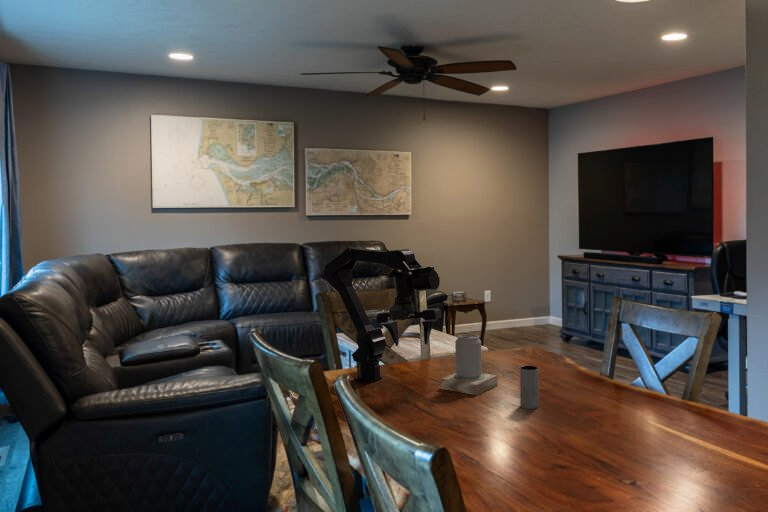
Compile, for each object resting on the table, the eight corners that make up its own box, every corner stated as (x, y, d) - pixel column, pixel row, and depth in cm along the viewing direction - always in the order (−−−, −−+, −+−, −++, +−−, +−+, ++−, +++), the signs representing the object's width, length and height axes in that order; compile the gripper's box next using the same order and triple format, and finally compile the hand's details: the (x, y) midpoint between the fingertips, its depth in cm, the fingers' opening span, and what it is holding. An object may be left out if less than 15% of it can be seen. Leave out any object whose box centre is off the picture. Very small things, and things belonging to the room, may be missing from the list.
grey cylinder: (518, 407, 159) (518, 368, 158) (523, 402, 163) (522, 364, 162) (535, 410, 157) (535, 370, 156) (540, 405, 161) (540, 366, 160)
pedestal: (440, 388, 178) (440, 377, 178) (462, 379, 188) (462, 369, 187) (477, 395, 171) (477, 384, 171) (497, 385, 180) (497, 374, 180)
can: (469, 371, 184) (469, 332, 183) (487, 376, 178) (486, 335, 177) (450, 375, 180) (449, 335, 179) (467, 381, 174) (467, 339, 173)
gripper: (365, 297, 176) (371, 351, 176) (425, 292, 168) (431, 348, 168) (381, 293, 186) (387, 344, 186) (439, 288, 179) (445, 342, 178)
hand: (411, 345), depth 180 cm, fingers open, 9 cm apart
